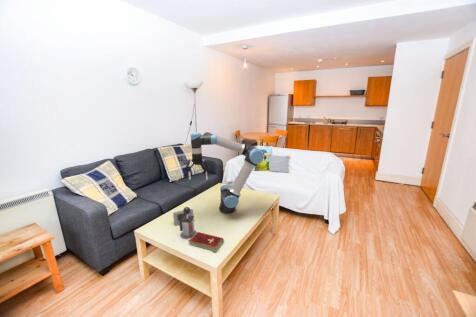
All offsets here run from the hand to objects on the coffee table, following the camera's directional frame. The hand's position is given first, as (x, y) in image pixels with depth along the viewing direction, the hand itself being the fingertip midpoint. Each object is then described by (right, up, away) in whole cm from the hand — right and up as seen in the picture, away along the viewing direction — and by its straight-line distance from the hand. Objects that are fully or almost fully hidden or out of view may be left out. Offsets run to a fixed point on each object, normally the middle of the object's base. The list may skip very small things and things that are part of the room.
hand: (198, 179), depth 172 cm
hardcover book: (+9, -44, -20) cm, 49 cm away
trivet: (-6, -41, -10) cm, 42 cm away
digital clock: (-13, -37, +7) cm, 39 cm away
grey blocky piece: (-6, -40, -10) cm, 41 cm away
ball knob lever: (-6, -37, -10) cm, 39 cm away
